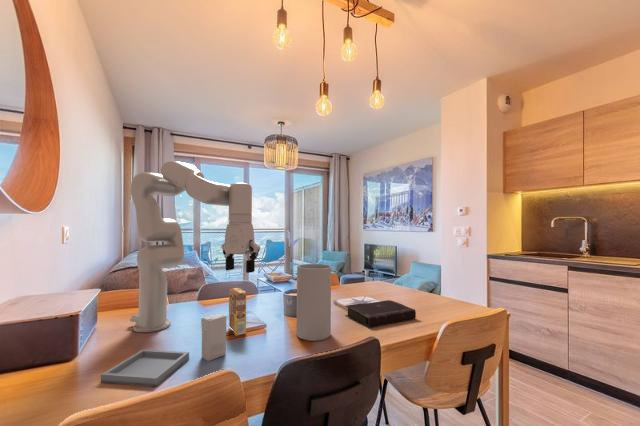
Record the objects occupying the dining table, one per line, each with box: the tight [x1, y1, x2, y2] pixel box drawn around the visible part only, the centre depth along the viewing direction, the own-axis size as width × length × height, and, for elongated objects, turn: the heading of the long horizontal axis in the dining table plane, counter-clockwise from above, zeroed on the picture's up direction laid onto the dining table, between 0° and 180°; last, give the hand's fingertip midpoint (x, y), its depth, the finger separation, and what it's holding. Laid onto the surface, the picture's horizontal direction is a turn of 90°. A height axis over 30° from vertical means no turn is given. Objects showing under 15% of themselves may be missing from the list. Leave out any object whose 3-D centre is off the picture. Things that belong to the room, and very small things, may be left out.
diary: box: [344, 299, 417, 329], centre depth 129 cm, size 19×25×5 cm
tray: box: [100, 349, 190, 387], centre depth 82 cm, size 15×15×2 cm
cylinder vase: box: [295, 263, 332, 342], centre depth 108 cm, size 12×12×25 cm
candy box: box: [228, 287, 247, 336], centre depth 111 cm, size 9×4×15 cm, turn 33°
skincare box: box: [201, 313, 227, 362], centre depth 90 cm, size 6×4×12 cm
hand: (239, 271), depth 99 cm, fingers open, 9 cm apart
